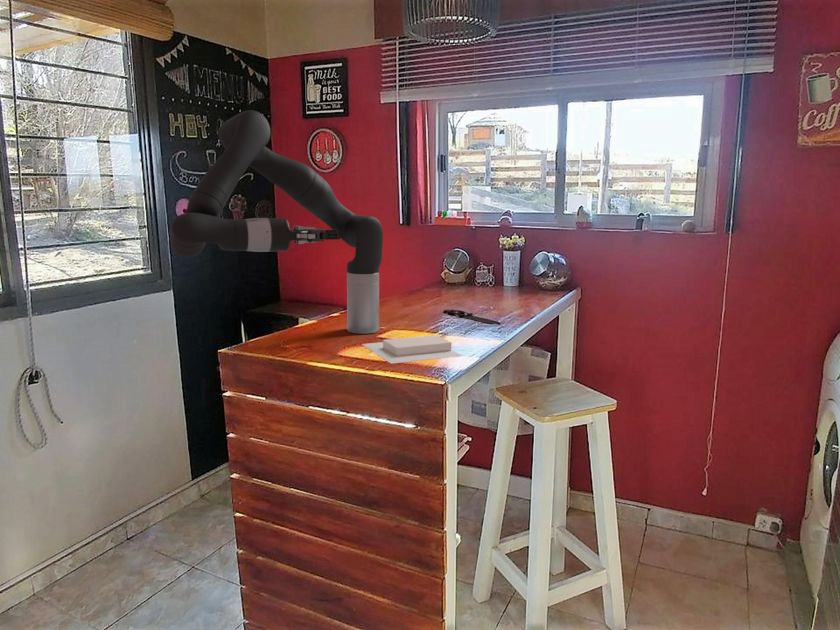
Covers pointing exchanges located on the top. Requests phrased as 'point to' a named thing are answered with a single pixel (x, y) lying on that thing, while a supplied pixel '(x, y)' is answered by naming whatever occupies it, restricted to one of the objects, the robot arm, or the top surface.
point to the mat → (392, 358)
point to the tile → (416, 345)
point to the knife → (468, 316)
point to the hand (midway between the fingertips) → (339, 234)
